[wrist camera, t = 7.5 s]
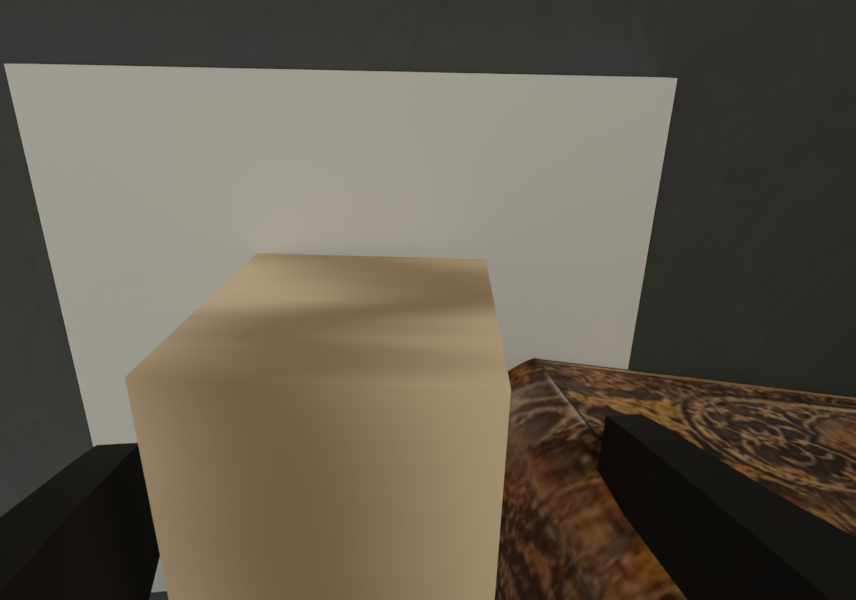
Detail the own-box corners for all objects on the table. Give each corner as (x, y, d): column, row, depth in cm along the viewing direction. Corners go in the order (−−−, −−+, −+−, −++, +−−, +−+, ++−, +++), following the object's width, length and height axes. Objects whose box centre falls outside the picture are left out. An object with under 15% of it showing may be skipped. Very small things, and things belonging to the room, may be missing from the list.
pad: (656, 77, 12) (677, 78, 11) (585, 530, 16) (596, 552, 16) (28, 64, 10) (3, 64, 10) (138, 568, 15) (127, 594, 14)
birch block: (485, 259, 11) (510, 388, 7) (475, 451, 13) (489, 664, 8) (256, 253, 11) (124, 377, 7) (274, 445, 13) (179, 650, 8)
